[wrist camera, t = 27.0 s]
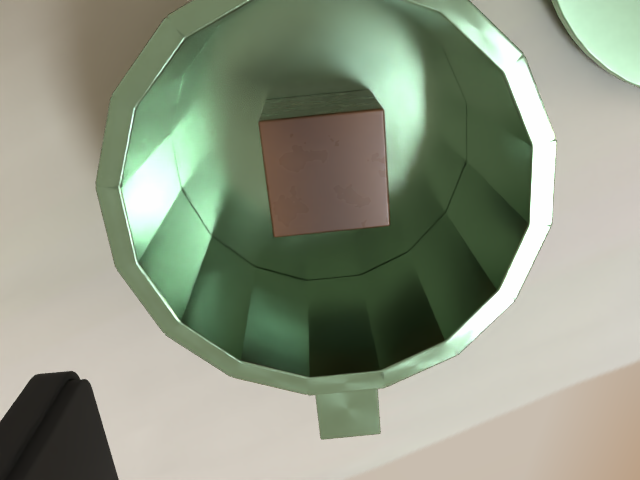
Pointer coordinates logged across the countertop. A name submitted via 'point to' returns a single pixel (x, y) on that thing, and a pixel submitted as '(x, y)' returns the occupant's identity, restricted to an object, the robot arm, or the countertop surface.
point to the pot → (339, 246)
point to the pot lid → (606, 33)
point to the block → (325, 163)
